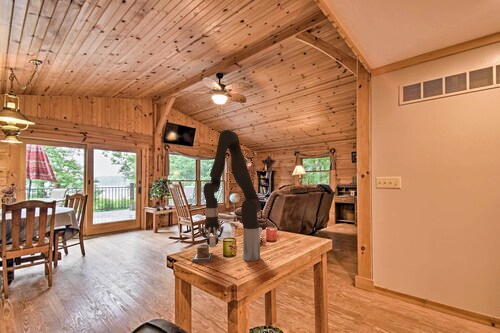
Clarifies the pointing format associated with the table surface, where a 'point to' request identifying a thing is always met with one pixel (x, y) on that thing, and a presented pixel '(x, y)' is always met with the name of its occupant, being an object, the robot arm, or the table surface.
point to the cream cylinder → (212, 241)
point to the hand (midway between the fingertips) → (212, 244)
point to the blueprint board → (202, 258)
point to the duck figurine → (261, 233)
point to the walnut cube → (202, 251)
